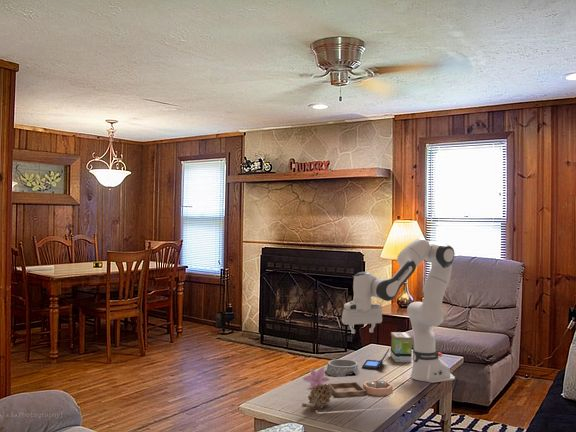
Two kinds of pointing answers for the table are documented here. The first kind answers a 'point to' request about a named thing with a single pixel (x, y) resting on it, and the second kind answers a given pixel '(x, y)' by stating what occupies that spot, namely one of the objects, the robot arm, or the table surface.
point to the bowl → (378, 389)
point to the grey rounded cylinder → (381, 384)
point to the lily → (316, 377)
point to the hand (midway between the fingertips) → (362, 332)
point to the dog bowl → (342, 367)
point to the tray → (347, 389)
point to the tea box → (401, 347)
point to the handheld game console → (373, 363)
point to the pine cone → (319, 396)
